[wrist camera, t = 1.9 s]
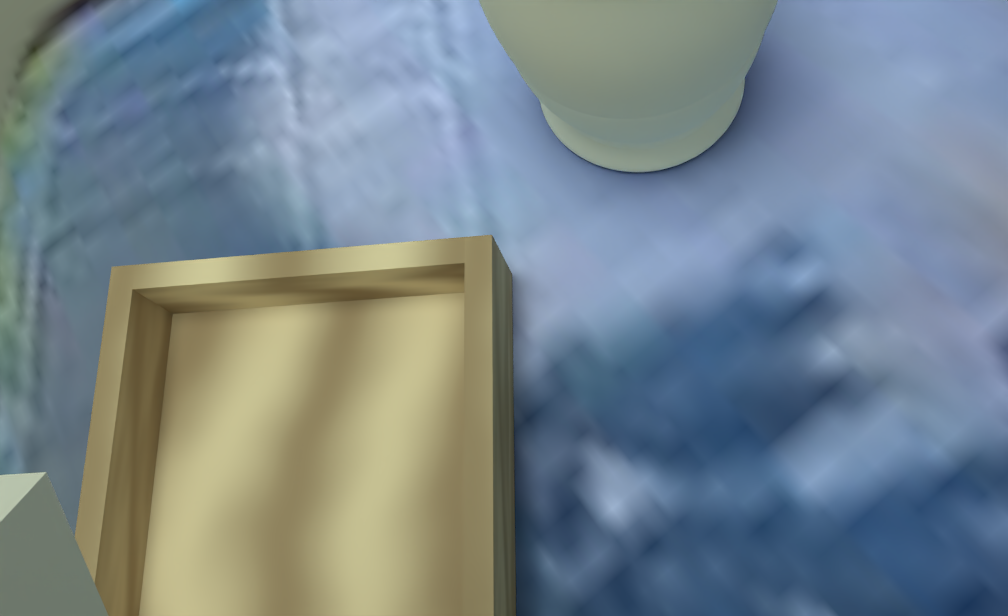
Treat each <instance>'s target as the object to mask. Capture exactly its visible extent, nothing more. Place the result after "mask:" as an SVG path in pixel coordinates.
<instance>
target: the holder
mask: <svg viewBox="0 0 1008 616" xmlns="http://www.w3.org/2000/svg"><path fill="white" fill-rule="evenodd" d="M75 539H76V542H77V544H78V546H79V549H80V551H81V553H82V556H83V558H84V560H85V563H86V565H87V567H88V569H89V572H90V574H91V576H92V579H93V581H94V583H95V586H96V588H97V590H98V593H99V595H100V597H101V600H102V602H103V604H104V606H105V609H106V611H107V613H108V616H516V573H515V488H514V403H513V319H512V273H511V271H510V269H509V267H508V265H507V263H506V262H505V260H504V258H503V256H502V254H501V252H500V250H499V248H498V246H497V244H496V242H495V240H494V238H493V236H492V235H484V236H472V237H461V238H449V239H437V240H425V241H413V242H401V243H389V244H378V245H366V246H354V247H342V248H330V249H318V250H307V251H295V252H283V253H271V254H259V255H247V256H235V257H224V258H212V259H200V260H188V261H176V262H164V263H152V264H141V265H129V266H117V267H112V270H111V277H110V284H109V292H108V299H107V306H106V313H105V321H104V328H103V335H102V343H101V350H100V357H99V364H98V372H97V379H96V386H95V394H94V401H93V408H92V415H91V423H90V430H89V437H88V445H87V452H86V459H85V466H84V474H83V481H82V488H81V496H80V503H79V510H78V517H77V525H76V532H75Z"/></svg>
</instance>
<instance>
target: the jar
mask: <svg viewBox="0 0 1008 616" xmlns="http://www.w3.org/2000/svg"><path fill="white" fill-rule="evenodd" d="M777 1H778V0H479V2H480V4H481V7H482V9H483V11H484V13H485V16H486V18H487V20H488V22H489V24H490V26H491V28H492V30H493V31H494V33H495V35H496V37H497V38H498V40H499V42H500V43H501V45H502V47H503V48H504V50H505V51H506V53H507V54H508V56H509V57H510V59H511V60H512V61H513V63H514V64H515V66H516V68H517V69H518V71H519V73H520V74H521V76H522V78H523V79H524V81H525V82H526V84H527V85H528V86H529V88H530V89H531V90H532V92H533V93H534V94H535V95H536V97H537V98H538V99H539V100H540V104H541V108H542V111H543V114H544V116H545V119H546V121H547V123H548V124H549V126H550V128H551V129H552V131H553V132H554V134H555V135H556V136H557V137H558V139H559V140H560V141H561V142H562V143H563V144H564V145H565V146H566V147H567V148H569V149H570V150H571V151H572V152H574V153H575V154H577V155H578V156H580V157H582V158H583V159H585V160H587V161H589V162H591V163H593V164H596V165H599V166H602V167H605V168H608V169H612V170H618V171H625V172H649V171H657V170H662V169H666V168H670V167H673V166H676V165H679V164H681V163H684V162H686V161H688V160H690V159H692V158H694V157H696V156H698V155H699V154H701V153H702V152H704V151H705V150H707V149H708V148H709V147H710V146H712V145H713V144H714V143H715V142H716V141H717V140H718V139H719V138H720V137H721V136H722V135H723V134H724V133H725V131H726V130H727V129H728V127H729V126H730V124H731V123H732V121H733V120H734V118H735V116H736V114H737V112H738V109H739V107H740V104H741V101H742V97H743V93H744V86H745V76H746V74H747V73H748V71H749V69H750V67H751V65H752V63H753V61H754V59H755V57H756V54H757V52H758V50H759V47H760V44H761V41H762V39H763V35H764V32H765V30H766V28H767V26H768V23H769V21H770V19H771V17H772V14H773V12H774V9H775V7H776V4H777Z"/></svg>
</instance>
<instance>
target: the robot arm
mask: <svg viewBox="0 0 1008 616" xmlns="http://www.w3.org/2000/svg"><path fill="white" fill-rule="evenodd" d="M0 616H108V613H107V611H106V609H105V606H104V604H103V602H102V600H101V597H100V595H99V593H98V590H97V588H96V586H95V583H94V581H93V579H92V576H91V574H90V572H89V569H88V567H87V565H86V563H85V560H84V558H83V556H82V553H81V551H80V549H79V546H78V544H77V542H76V539H75V537H74V535H73V533H72V530H71V528H70V526H69V523H68V521H67V519H66V516H65V514H64V512H63V509H62V507H61V505H60V503H59V500H58V498H57V496H56V493H55V491H54V489H53V486H52V484H51V482H50V479H49V477H48V475H47V473H46V472H43V473H27V474H12V475H0Z"/></svg>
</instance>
